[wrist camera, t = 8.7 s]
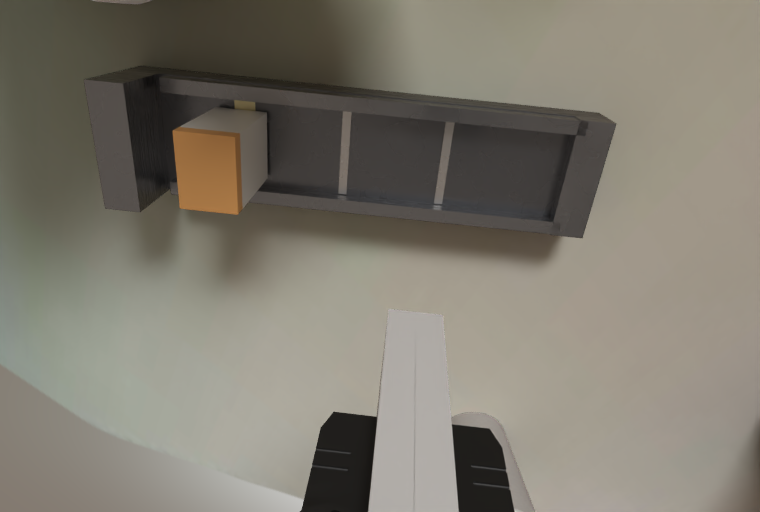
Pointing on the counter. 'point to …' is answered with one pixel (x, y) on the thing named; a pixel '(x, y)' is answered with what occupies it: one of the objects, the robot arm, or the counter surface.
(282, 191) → the tray
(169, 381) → the counter surface
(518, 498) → the dixie cup
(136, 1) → the decorative rooster
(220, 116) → the fader tab
